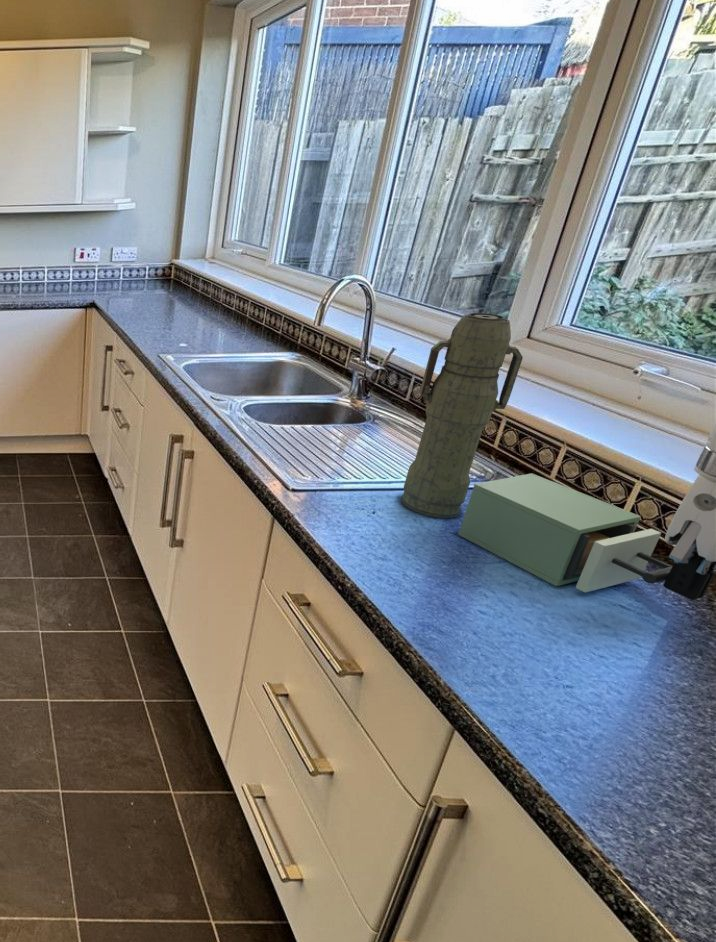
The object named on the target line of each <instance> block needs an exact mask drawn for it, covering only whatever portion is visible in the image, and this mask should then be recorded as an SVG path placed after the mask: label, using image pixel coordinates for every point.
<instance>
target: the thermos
mask: <svg viewBox="0 0 716 942" xmlns="http://www.w3.org/2000/svg"><path fill="white" fill-rule="evenodd" d="M510 322H511V321H510V319H508V318H506V317H505V316H503V315H500V314H494V313H486V312H470V313H468V314H464V315H462V316H461V317H460V319H459V320H458V322H457V323H456V324H455V326H454V328H453V329H452V332H451V334H450V338H448V340H440V341H439V342H437V343H436V344H435V345H433V346H432V347H431V348H430V351H429V356H428V359H427V363H426V367H425V370H424V374H423V377H422V382H421V385H420V388H419V394H420V396H421V397H422V398H423V400H425V401H426V402H427V403H426V407H425V411H424V412H425V415H426V419H425V423H424V427H423V430H422V434H421V437H420V441H419V444H418V448H417V451H416V455H415V459H414V460H413V462H412V463H411V464H410V465H409V467H408V471H407V473H406V476H405V477H406V478H405V481H404V484H403V494H402V496H401V499H400V501H401V503H402V505H403V506H405V507H406V508H407V509H409V510H411V511H413V512H415V513H418V514H421V515H423V516H426V517H431V518H438V519H454V518H456V517H458V516H459V514H460V511H461V507H462V505H463V503H464V504H465V500H466V497H467V494H468V490H469V487H470V485H471V479H470V471H471V468H472V466H473V465H472V464H473V462H474V459H475V456H476V453H477V450H478V446H479V443H480V441H481V436H482V433H483V431H484V429H485V427H486V426H487V425H488V424H489V423H490V420H491V418H492V414H493V413H494V412H496V410H505V408H506V406H507V405H508V402H509V400H510V398H511V395H512V392H513V389H514V385H515V383H516V380H517V377H518V374H519V370H520V367H521V364H522V362H523V358H524V357H523V355H522V353H521V352H520V350H519V348H518V347H516V346H514V345H513V346H512V345H510V342H511V339H512V332H511V324H510ZM444 348H446V352H445V355H444V363H443V365H442V366H441V370H440V372H439V374H438V375H437V377H436V378H435V379H434V381H432V380H433V377H434V376H433V375H434V373H435V370H436V369H435V368H436V365H437V361H438V358H439V354H440V352H441V351H442V350H443V349H444ZM511 354H512V357H511V360H510V364H509V367H508V370H507V373H506V376H505V380H504V383H503V385H502V389H501V392H500V395H499V386H498V380H499V377H500V373H499V372H500V368H502V367H503V364H504V362H505V358H506V355H509V356H511ZM432 382H433V383H432ZM431 384H432V386H431ZM430 388H431V390H430ZM498 395H499V398H498ZM497 398H498V399H497Z"/></svg>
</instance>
